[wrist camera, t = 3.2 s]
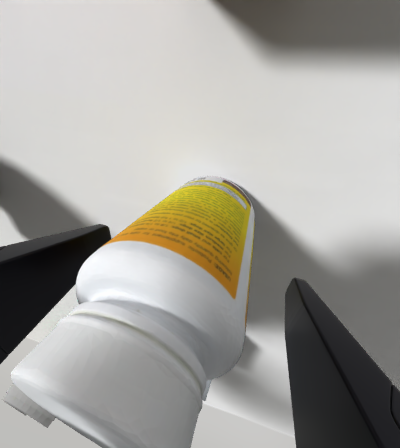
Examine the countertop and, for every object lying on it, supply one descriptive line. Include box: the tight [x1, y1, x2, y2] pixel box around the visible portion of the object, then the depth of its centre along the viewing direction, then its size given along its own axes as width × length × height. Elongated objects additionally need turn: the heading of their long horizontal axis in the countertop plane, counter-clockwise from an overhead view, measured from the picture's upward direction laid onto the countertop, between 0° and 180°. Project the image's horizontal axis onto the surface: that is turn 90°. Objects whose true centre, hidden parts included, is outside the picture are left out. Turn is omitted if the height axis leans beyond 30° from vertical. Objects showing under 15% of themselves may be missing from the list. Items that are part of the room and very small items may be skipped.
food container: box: [3, 383, 56, 428], centre depth 29 cm, size 12×6×10 cm, turn 128°
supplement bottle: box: [11, 176, 255, 448], centre depth 8 cm, size 6×6×10 cm
